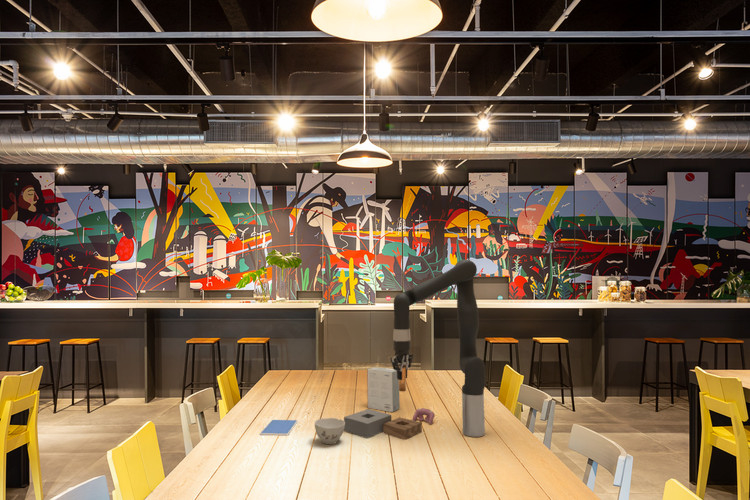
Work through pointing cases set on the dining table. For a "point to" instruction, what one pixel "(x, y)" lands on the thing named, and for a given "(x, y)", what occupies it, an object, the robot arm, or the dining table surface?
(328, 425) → the teacup
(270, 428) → the blue book
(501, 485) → the dining table surface
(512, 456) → the dining table surface
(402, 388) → the pin
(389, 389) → the hard drive box
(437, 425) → the dining table surface
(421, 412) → the video game controller
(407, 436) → the pin mount
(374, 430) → the dock socket
